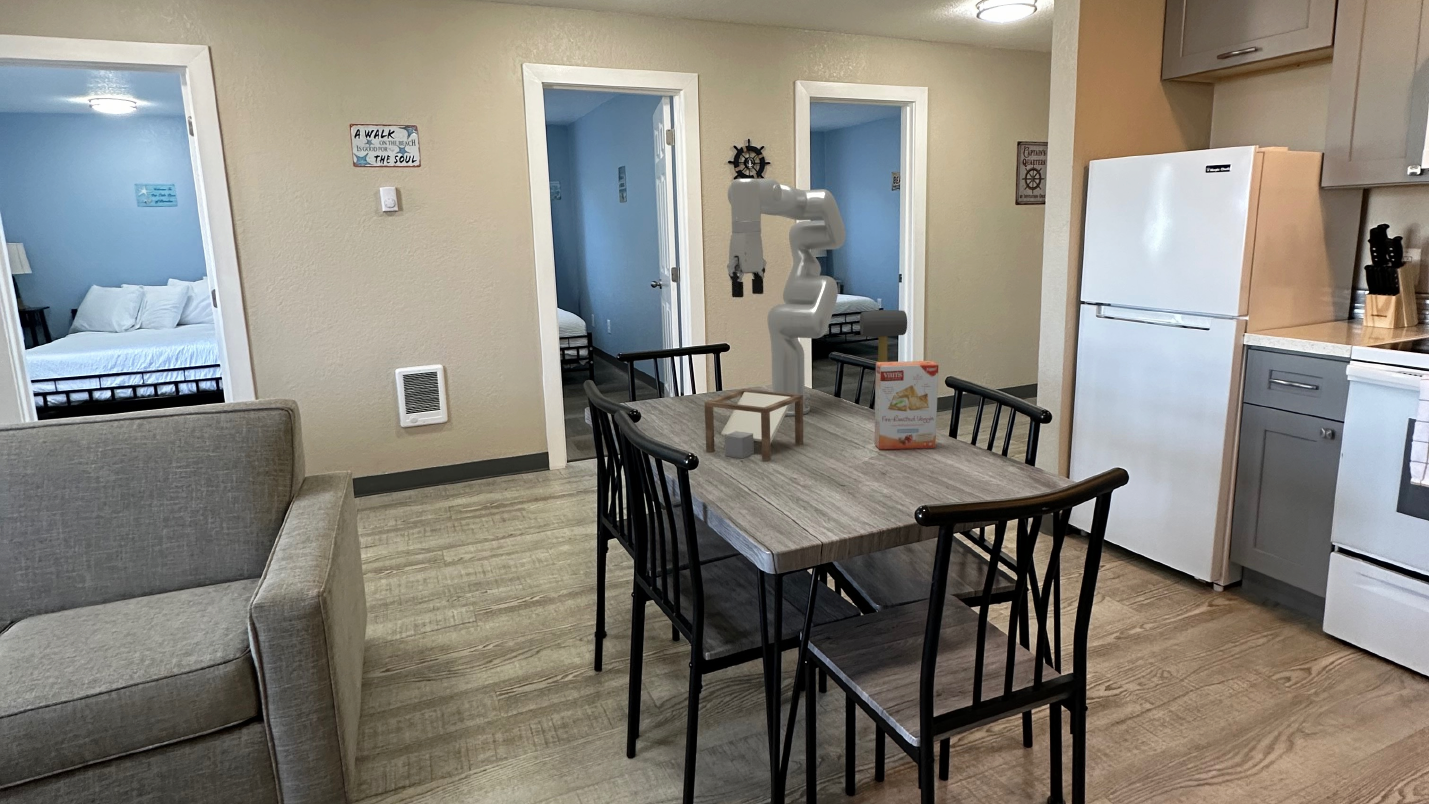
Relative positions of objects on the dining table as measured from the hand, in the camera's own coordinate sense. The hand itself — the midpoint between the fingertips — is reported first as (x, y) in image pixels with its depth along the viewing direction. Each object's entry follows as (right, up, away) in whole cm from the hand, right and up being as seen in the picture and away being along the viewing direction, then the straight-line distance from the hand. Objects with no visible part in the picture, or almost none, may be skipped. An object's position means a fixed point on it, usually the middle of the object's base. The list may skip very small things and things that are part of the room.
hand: (748, 295), depth 211 cm
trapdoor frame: (+1, -39, -9) cm, 40 cm away
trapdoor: (+2, -32, -9) cm, 33 cm away
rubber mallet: (+39, -32, +20) cm, 54 cm away
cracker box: (+38, -39, -13) cm, 56 cm away
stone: (-1, -38, -13) cm, 40 cm away
